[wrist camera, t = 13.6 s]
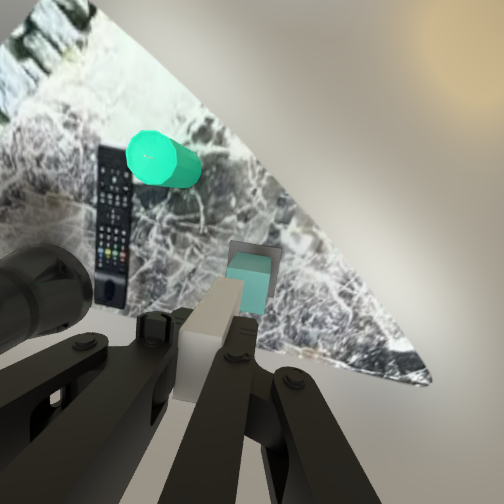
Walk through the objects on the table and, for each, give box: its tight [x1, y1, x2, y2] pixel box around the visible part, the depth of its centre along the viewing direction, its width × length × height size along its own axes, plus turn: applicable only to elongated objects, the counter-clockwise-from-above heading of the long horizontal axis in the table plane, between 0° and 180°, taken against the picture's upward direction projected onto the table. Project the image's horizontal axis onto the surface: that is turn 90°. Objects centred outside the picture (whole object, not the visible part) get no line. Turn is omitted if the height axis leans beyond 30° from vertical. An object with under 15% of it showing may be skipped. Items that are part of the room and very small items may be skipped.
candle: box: [126, 130, 201, 188], centre depth 34 cm, size 6×6×12 cm
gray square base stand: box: [227, 240, 282, 298], centre depth 37 cm, size 8×8×10 cm
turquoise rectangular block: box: [226, 252, 271, 315], centre depth 37 cm, size 5×5×10 cm
